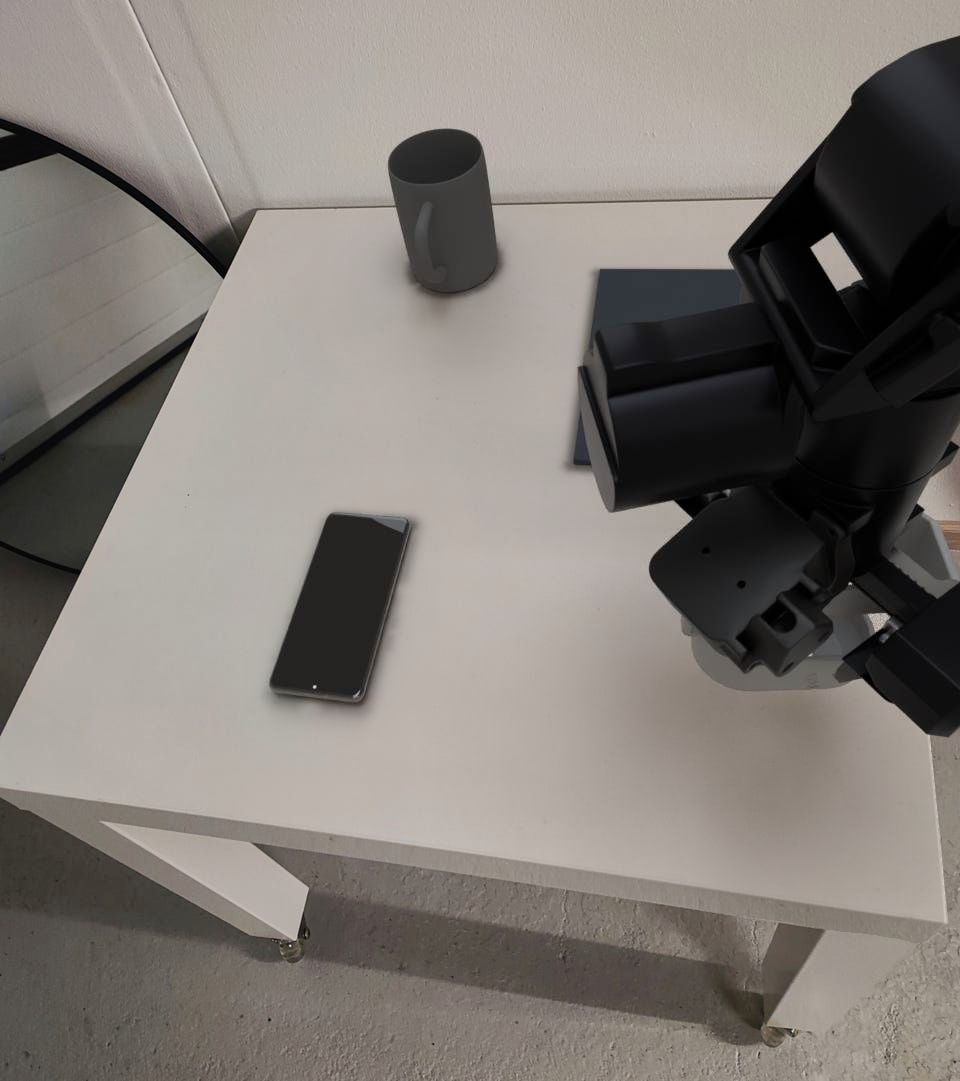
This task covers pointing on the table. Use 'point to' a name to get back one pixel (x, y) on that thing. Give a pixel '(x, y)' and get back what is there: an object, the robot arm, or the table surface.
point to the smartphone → (341, 608)
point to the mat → (655, 304)
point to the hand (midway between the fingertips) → (786, 620)
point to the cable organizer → (848, 625)
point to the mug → (444, 208)
